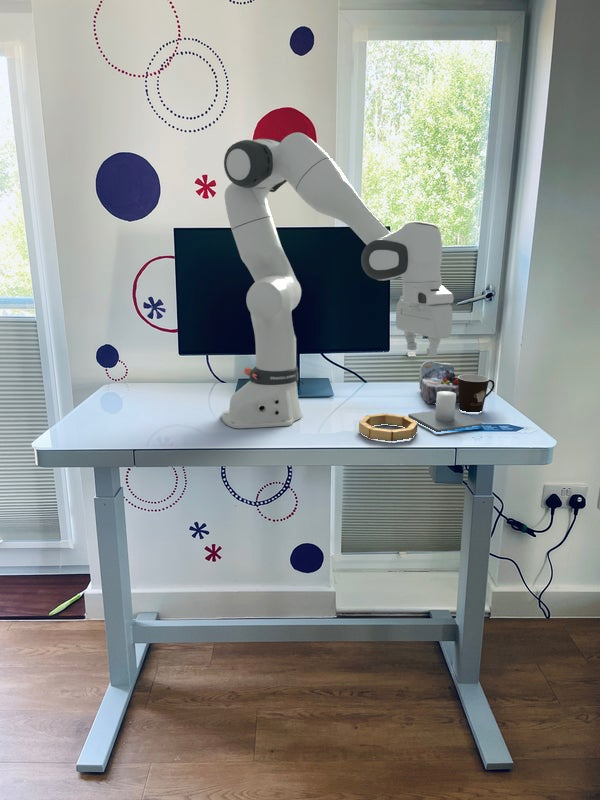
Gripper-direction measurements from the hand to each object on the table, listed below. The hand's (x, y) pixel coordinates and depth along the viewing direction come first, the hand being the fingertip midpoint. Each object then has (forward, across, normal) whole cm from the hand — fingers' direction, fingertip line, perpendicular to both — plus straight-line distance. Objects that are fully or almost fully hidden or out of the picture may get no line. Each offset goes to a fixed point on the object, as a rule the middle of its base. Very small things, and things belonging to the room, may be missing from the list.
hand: (421, 352), depth 138 cm
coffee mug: (+23, -18, +28) cm, 40 cm away
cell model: (+22, -33, +25) cm, 47 cm away
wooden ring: (+22, -9, -5) cm, 24 cm away
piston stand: (+22, -11, +13) cm, 28 cm away
